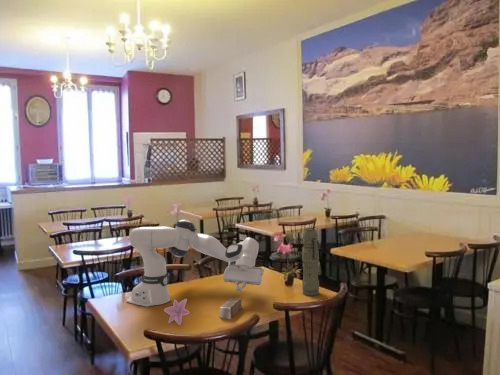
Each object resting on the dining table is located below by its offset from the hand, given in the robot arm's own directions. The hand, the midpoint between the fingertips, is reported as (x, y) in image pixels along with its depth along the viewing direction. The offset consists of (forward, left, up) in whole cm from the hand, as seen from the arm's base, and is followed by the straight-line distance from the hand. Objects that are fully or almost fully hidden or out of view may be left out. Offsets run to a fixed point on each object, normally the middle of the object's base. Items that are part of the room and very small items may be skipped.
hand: (238, 290), depth 216 cm
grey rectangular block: (0, -2, -5) cm, 6 cm away
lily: (-20, -26, -8) cm, 34 cm away
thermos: (+30, +30, -8) cm, 43 cm away
